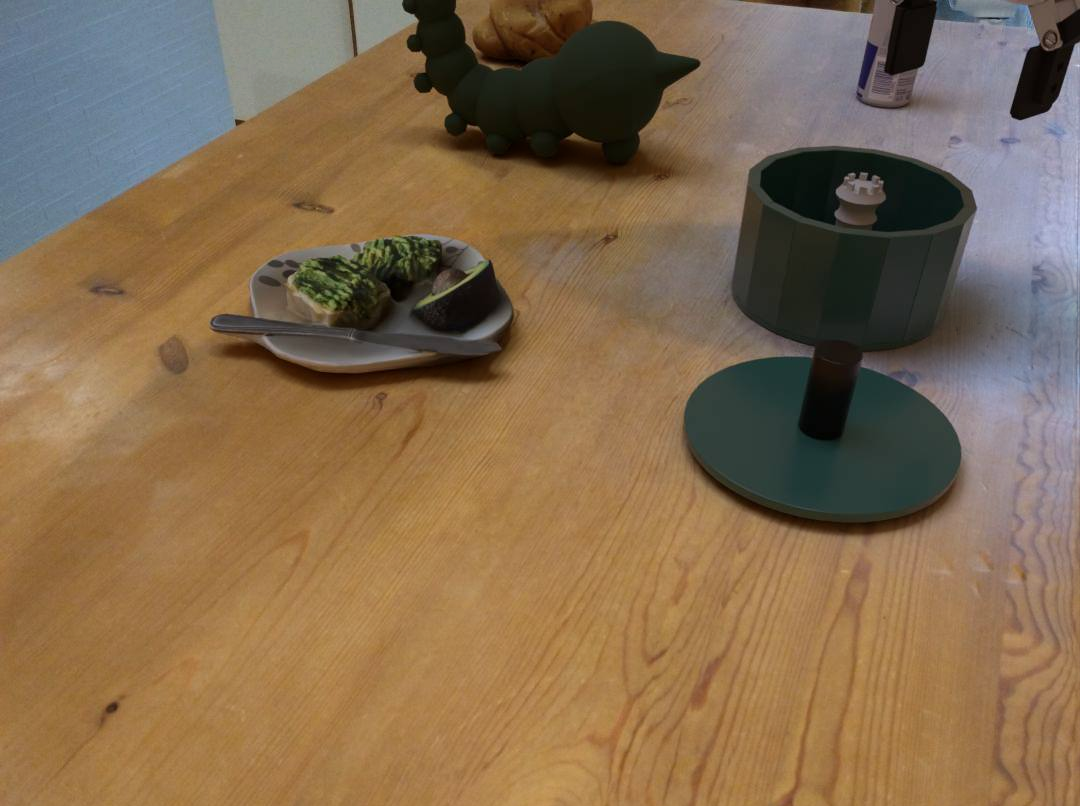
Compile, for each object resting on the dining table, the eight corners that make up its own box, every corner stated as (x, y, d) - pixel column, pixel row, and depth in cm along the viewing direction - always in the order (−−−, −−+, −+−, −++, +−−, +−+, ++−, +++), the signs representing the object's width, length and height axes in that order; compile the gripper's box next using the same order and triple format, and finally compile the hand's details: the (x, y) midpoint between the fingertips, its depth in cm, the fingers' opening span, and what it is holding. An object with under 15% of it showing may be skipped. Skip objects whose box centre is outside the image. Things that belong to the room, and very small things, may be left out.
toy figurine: (409, 170, 94) (686, 185, 88) (375, -72, 82) (692, -75, 76) (448, 134, 101) (707, 145, 94) (421, -94, 89) (716, -100, 82)
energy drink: (876, 86, 110) (905, -43, 102) (920, 101, 107) (953, -31, 99) (844, 97, 107) (871, -35, 99) (888, 112, 104) (919, -23, 96)
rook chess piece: (799, 297, 74) (822, 185, 68) (814, 271, 77) (837, 162, 72) (863, 312, 72) (891, 199, 67) (876, 284, 75) (904, 174, 70)
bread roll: (465, 66, 112) (463, -18, 106) (483, 39, 119) (482, -41, 114) (586, 75, 110) (590, -9, 105) (597, 47, 118) (601, -33, 112)
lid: (814, 348, 70) (834, 260, 66) (1013, 469, 60) (1051, 375, 56) (627, 420, 63) (636, 327, 59) (818, 570, 53) (845, 472, 49)
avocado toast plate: (225, 418, 62) (211, 349, 59) (203, 279, 75) (190, 216, 72) (540, 371, 67) (542, 305, 64) (469, 248, 79) (468, 188, 76)
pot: (832, 235, 83) (854, 132, 77) (985, 314, 74) (1023, 203, 68) (689, 281, 76) (703, 172, 71) (838, 374, 67) (867, 257, 62)
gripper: (1253, -240, 51) (1124, 120, 62) (962, -265, 62) (897, 45, 73) (1162, -229, 48) (1044, 148, 59) (872, -258, 59) (819, 66, 70)
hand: (963, 91), depth 66 cm, fingers open, 9 cm apart
